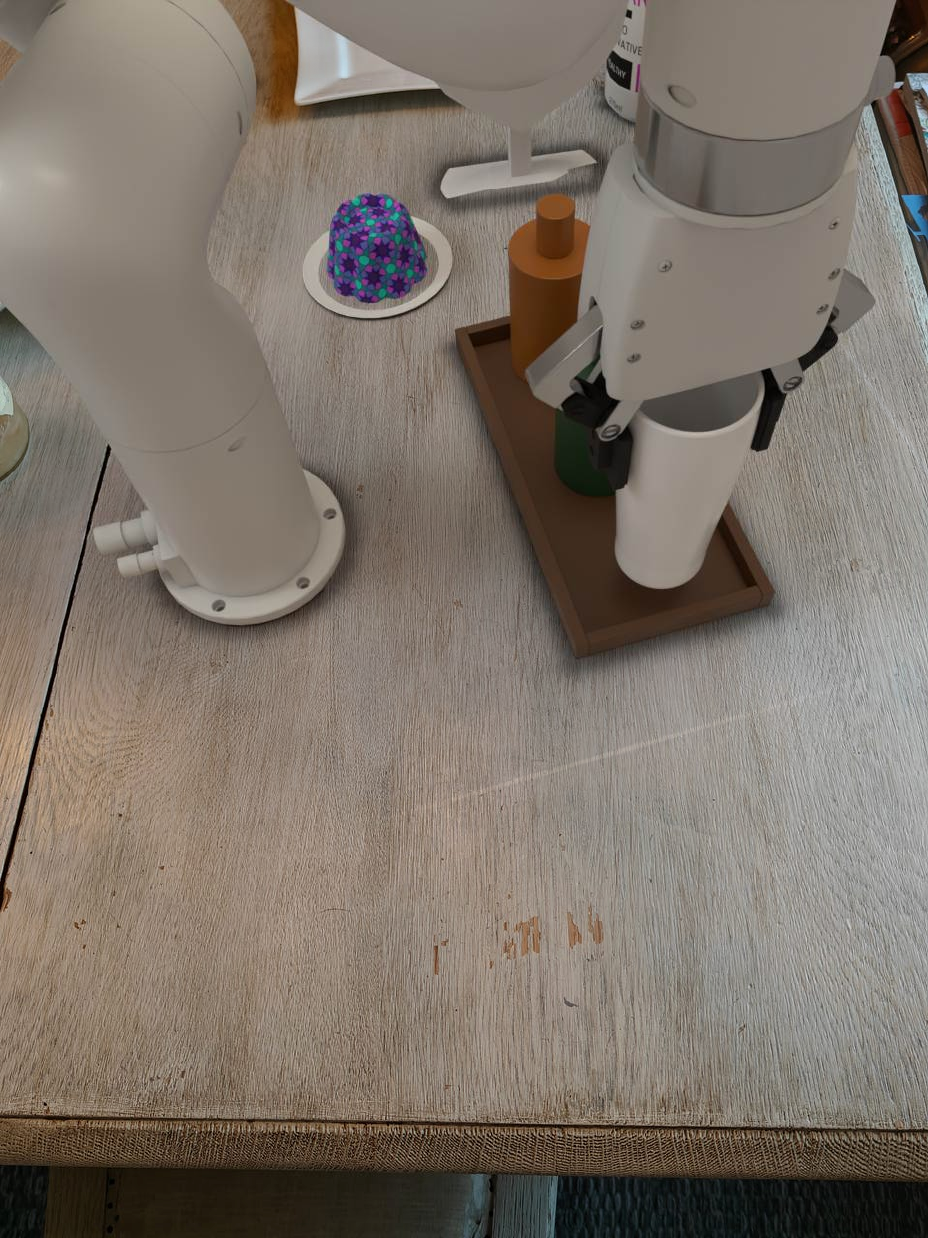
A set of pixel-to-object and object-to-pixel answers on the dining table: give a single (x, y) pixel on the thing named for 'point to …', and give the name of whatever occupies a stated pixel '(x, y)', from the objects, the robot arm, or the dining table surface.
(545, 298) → the amber bottle
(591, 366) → the green bottle
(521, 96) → the heart sculpture
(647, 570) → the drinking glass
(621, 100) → the supplement can
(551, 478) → the tray
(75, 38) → the robot arm
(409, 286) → the pudding
